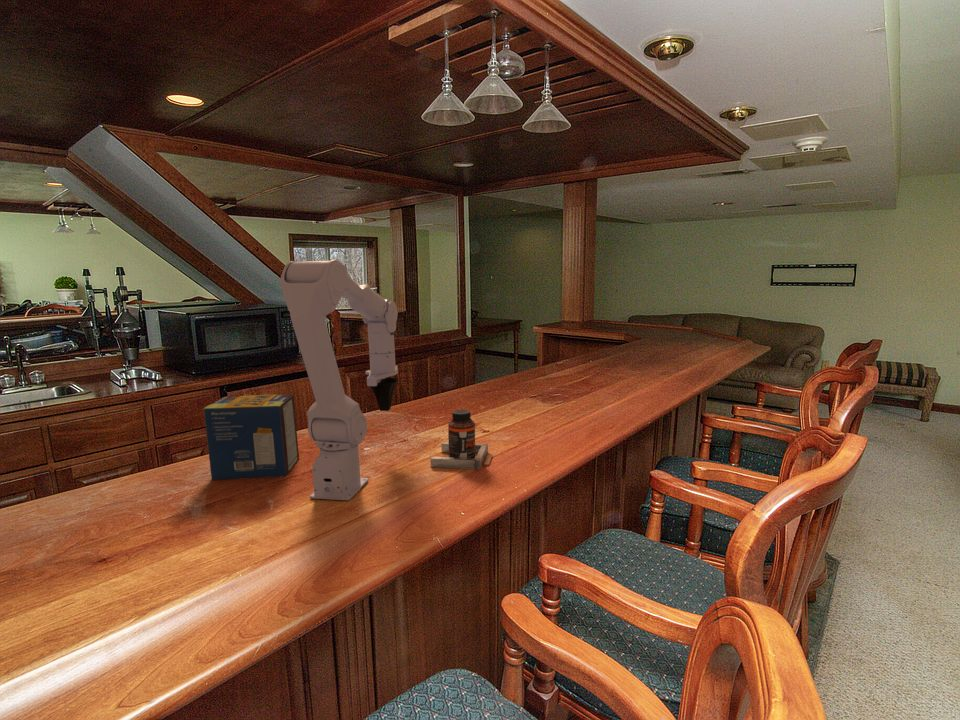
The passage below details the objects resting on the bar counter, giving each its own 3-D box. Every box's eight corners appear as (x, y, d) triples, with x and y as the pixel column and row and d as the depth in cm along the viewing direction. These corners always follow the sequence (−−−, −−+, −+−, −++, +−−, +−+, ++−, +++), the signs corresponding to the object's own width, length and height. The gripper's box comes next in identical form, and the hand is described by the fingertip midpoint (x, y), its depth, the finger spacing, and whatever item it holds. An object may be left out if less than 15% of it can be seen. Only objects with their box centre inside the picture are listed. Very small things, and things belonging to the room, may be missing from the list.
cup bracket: (486, 470, 105) (486, 461, 105) (430, 467, 107) (430, 458, 107) (494, 452, 116) (493, 444, 115) (442, 450, 118) (442, 442, 117)
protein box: (230, 462, 113) (223, 395, 110) (299, 458, 114) (294, 393, 111) (210, 481, 102) (201, 408, 100) (286, 476, 104) (280, 405, 101)
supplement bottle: (470, 466, 107) (469, 416, 105) (445, 463, 109) (443, 414, 107) (478, 456, 113) (478, 408, 111) (454, 454, 115) (453, 407, 113)
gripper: (377, 347, 120) (380, 401, 123) (352, 357, 106) (355, 418, 108) (405, 347, 119) (407, 402, 121) (383, 357, 105) (386, 419, 107)
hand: (385, 410), depth 115 cm, fingers closed
